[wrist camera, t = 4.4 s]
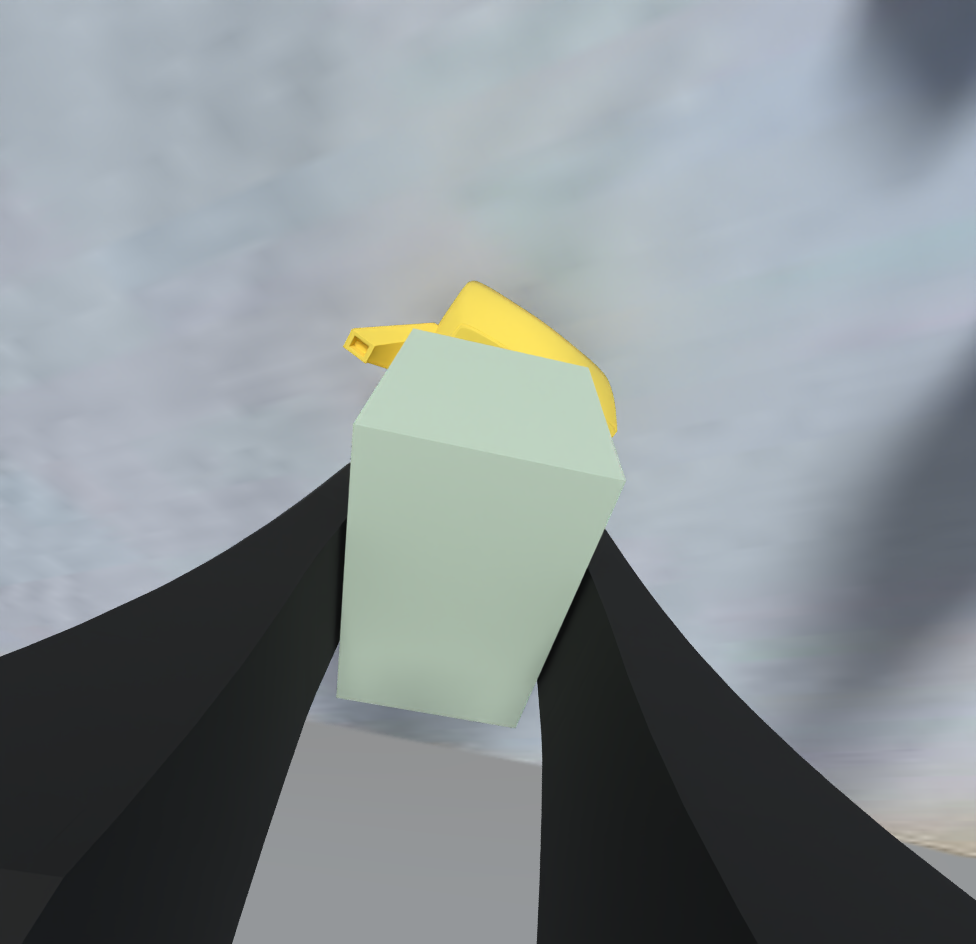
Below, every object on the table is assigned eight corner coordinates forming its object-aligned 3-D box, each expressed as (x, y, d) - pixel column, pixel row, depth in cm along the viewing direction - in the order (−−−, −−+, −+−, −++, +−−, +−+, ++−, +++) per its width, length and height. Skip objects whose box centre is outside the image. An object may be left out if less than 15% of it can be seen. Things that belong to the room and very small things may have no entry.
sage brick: (413, 328, 9) (353, 424, 6) (588, 367, 10) (625, 480, 6) (385, 554, 13) (336, 697, 9) (516, 578, 13) (515, 728, 9)
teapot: (339, 384, 16) (273, 466, 12) (425, 225, 13) (380, 256, 9) (531, 499, 18) (534, 605, 14) (639, 382, 16) (685, 469, 11)
